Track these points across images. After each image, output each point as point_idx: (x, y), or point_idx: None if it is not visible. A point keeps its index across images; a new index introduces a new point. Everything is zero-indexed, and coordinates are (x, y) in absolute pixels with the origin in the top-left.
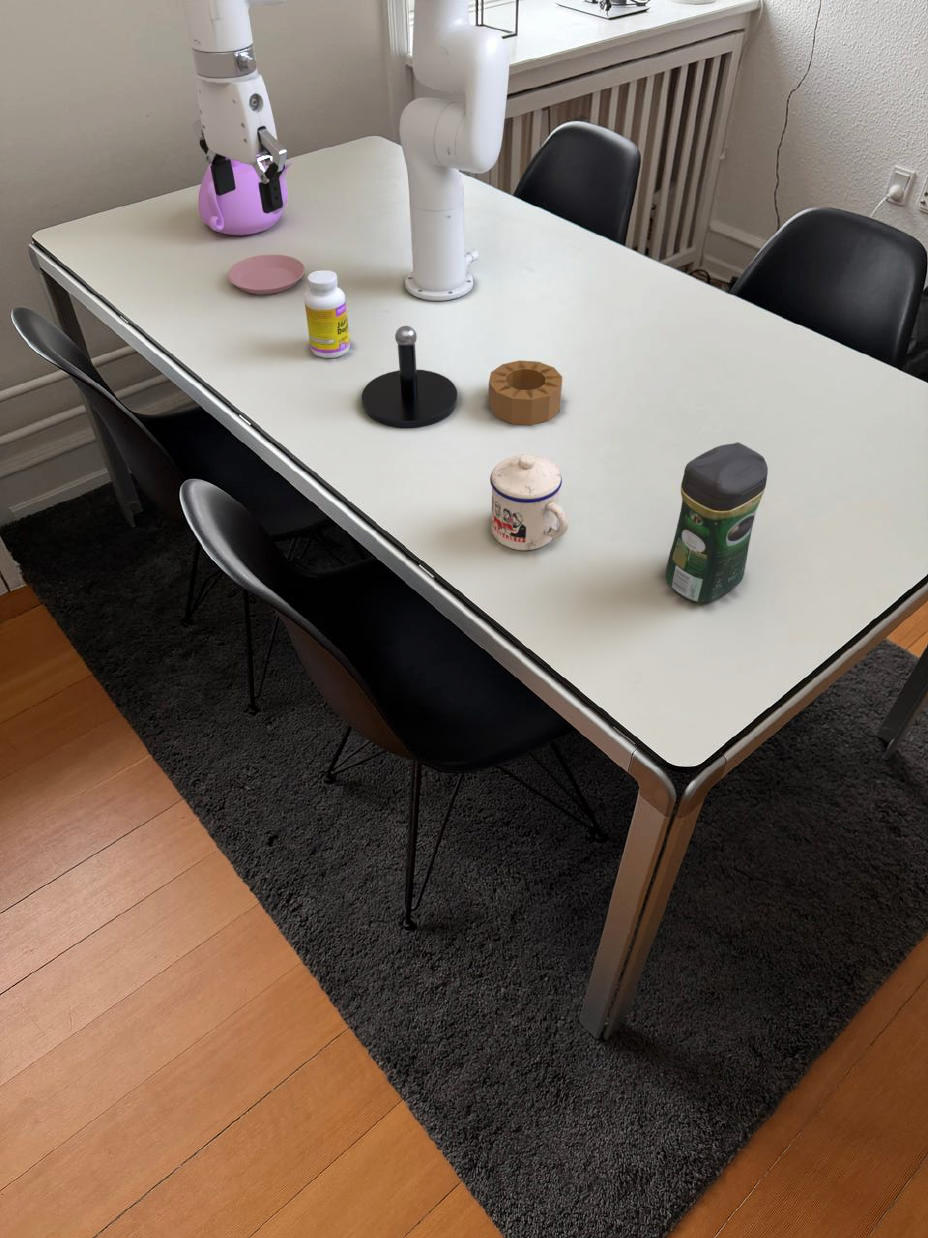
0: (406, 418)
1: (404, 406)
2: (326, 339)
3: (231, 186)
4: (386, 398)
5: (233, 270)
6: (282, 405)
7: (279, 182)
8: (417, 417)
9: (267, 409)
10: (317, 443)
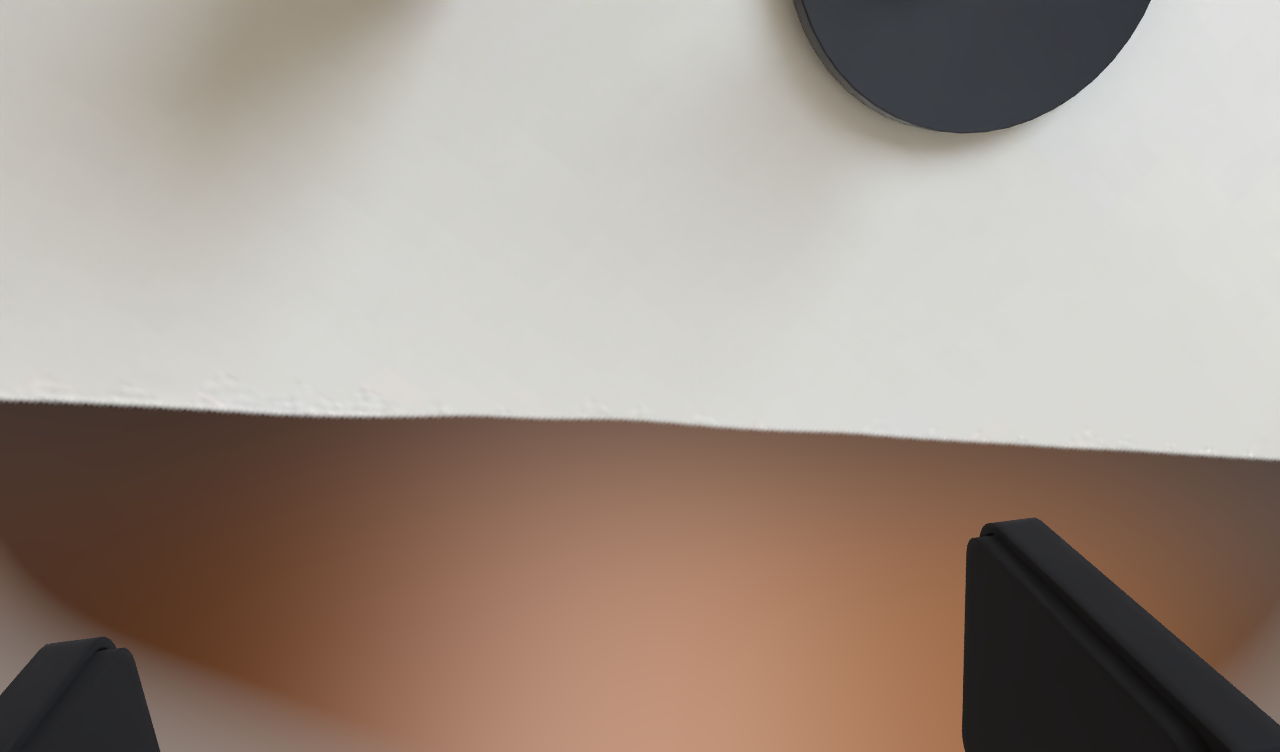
0: (1081, 65)
1: (1025, 10)
2: None
3: (120, 726)
4: (934, 21)
5: None
6: (625, 306)
7: (1222, 685)
8: (1111, 30)
9: (607, 360)
10: (895, 360)
